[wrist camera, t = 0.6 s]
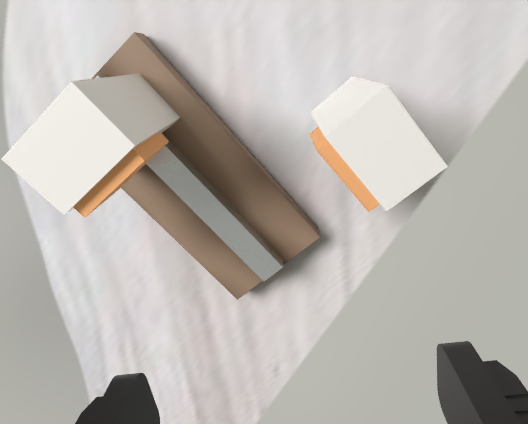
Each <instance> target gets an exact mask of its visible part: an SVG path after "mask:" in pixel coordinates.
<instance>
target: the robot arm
mask: <svg viewBox="0 0 528 424" xmlns="http://www.w3.org/2000/svg"><path fill="white" fill-rule="evenodd" d="M437 383H438V384H437V385H438V396H439V400H440V404H441V408H442V411H443V413H444V416H445V418H446V421H447V423H448V424H528V391H527V390H526V388H525V387H524V386H523V384H522V383H521V381H520V380H519V378H518V377H517V376H516V375H515V374H514V373H513V372H511V371H510V370H509V369H507V368H506V367H505V366H503V365H502V364H501V363H499V362H498V361H497V360H495V361H485V362H483V361H482V360H481V358H480V357H479V355H478V353H477V352H476V350H475V349H474V347H473V346H472V344H471V343H470V342H468V341H465V342H455V343H445V344H438V346H437ZM75 424H160V416H159V411H158V408H157V406H156V403H155V400H154V397H153V395H152V392H151V389H150V386H149V383H148V381H147V378H146V376H145V375H144V374H143V373H136V374H126V375H117V376H115V377H114V378H113V379H112V381H111V382H110V384H109V386H108V388H107V390H106V392H105V394H104V396H103V397H96V398H95V399H94V400H93V401H92V402H91V404H90V405H89V406H88V407H87V408H86V409H85V410H84V411H83V412H82V413H81V415H80V416H79V418H78V420H77V421H76V423H75Z"/></svg>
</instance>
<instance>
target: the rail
mask: <svg viewBox="0 0 528 424" xmlns="http://www.w3.org/2000/svg"><path fill="white" fill-rule="evenodd" d="M2 160H3V161H4V162H5V163H6V164H7V165H9V166H10V167H11V168H12V169H13V170H14V171H15V172H16V173H17V174H19V175H20V176H21V177H22V178H23V179H24V180H25V181H26V182H28V183H29V184H30V185H31V186H32V187H33V188H34V189H35V190H36V191H38V192H39V193H40V194H41V195H42V196H43V197H44V198H45V199H46V200H48V201H49V202H50V203H51V204H52V205H53V206H54V207H55V208H57V209H58V210H59V211H60V212H61V213H62V214H63V215H65V214H66V213H68V212H69V211H70V210H72V209H73V208H75V209H76V210H77V211H78V212H79V213H80V214H81V215H82V216H83V217H86V216H88V215H89V214H90V213H91V212H92V211H93V210H95V209H96V208H97V207H98V206H99V205H101V204H102V203H103V202H104V201H105V200H107V199H108V198H109V197H110V196H111V195H113V194H114V193H115V192H116V191H117V190H119V189H120V188H122V189H123V190H124V191H125V192H126V193H127V194H128V195H129V196H130V197H131V198H132V199H133V200H134V201H136V202H137V203H138V204H139V205H140V206H141V207H142V208H143V209H144V210H145V211H146V212H147V213H148V214H149V215H150V216H151V217H152V218H153V219H154V220H155V221H156V222H157V223H158V224H159V225H160V226H162V227H163V228H164V229H165V230H166V231H167V232H168V233H169V234H170V235H171V236H172V237H173V238H174V239H175V240H176V241H177V242H178V243H179V244H180V245H181V246H182V247H183V248H184V249H185V250H186V251H188V252H189V253H190V254H191V255H192V256H193V257H194V258H195V259H196V260H197V261H198V262H199V263H200V264H201V265H202V266H203V267H204V268H205V269H206V270H207V271H208V272H209V273H210V274H211V275H212V276H214V277H215V278H216V279H217V280H218V281H219V282H220V283H221V284H222V285H223V286H224V287H225V288H226V289H227V290H228V291H229V292H230V293H231V294H232V295H233V296H234V297H235V298H236V299H237V300H238V299H239V298H240V297H242V296H243V295H244V294H246V293H247V292H248V291H250V290H251V289H252V288H254V287H255V286H256V285H258V284H259V283H260V282H262V281H266V280H267V279H268V278H270V277H271V276H272V275H274V274H275V273H276V272H278V271H279V270H280V269H282V268H283V265H284V264H285V263H287V262H288V261H289V260H291V259H292V258H293V257H295V256H296V255H297V254H299V253H300V252H301V251H303V250H304V249H305V248H307V247H308V246H309V245H311V244H312V243H313V242H315V241H316V240H317V239H319V238H320V235H319V231H318V227H317V226H316V225H315V224H314V223H313V222H312V221H311V219H310V218H309V217H308V216H307V215H306V214H305V213H304V212H303V211H302V209H301V208H300V207H299V206H298V205H297V204H296V203H295V202H294V201H293V199H292V198H291V197H290V196H289V195H288V194H287V193H286V192H285V191H284V189H283V188H282V187H281V186H280V185H279V184H278V183H277V182H276V181H275V179H274V178H273V177H272V176H271V175H270V174H269V173H268V172H267V171H266V169H265V168H264V167H263V166H262V165H261V164H260V163H259V162H258V161H257V159H256V158H255V157H254V156H253V155H252V154H251V153H250V152H249V151H248V149H247V148H246V147H245V146H244V145H243V144H242V143H241V142H240V141H239V139H238V138H237V137H236V136H235V135H234V134H233V133H232V132H231V131H230V129H229V128H228V127H227V126H226V125H225V124H224V123H223V122H222V121H221V119H220V118H219V117H218V116H217V115H216V114H215V113H214V112H213V111H212V109H211V108H210V107H209V106H208V105H207V104H206V103H205V102H204V101H203V99H202V98H201V97H200V96H199V95H198V94H197V93H196V92H195V91H194V89H193V88H192V87H191V86H190V85H189V84H188V83H187V82H186V81H185V79H184V78H183V77H182V76H181V75H180V74H179V73H178V72H177V71H176V70H175V68H174V67H173V66H172V65H171V64H170V63H169V62H168V61H167V60H166V58H165V57H164V56H163V55H162V54H161V53H160V52H159V51H158V50H157V48H156V47H155V46H154V45H153V44H152V43H151V42H150V41H149V40H148V38H147V37H146V36H145V35H144V34H141V33H135V32H134V33H133V34H132V35H131V37H130V38H129V39H128V40H127V41H126V42H125V43H124V44H123V45H122V46H121V47H120V48H119V50H118V51H117V52H116V53H115V54H114V55H113V56H112V57H111V58H110V59H109V60H108V62H107V63H106V64H105V65H104V66H103V67H102V68H101V69H100V70H99V71H98V72H97V73H96V75H95V76H94V77H93V78H92V79H88V80H80V81H71V82H70V83H69V85H68V86H67V87H66V88H65V89H64V90H63V91H62V92H61V93H60V94H59V96H58V97H57V98H56V99H55V100H54V101H53V102H52V103H51V104H50V106H49V107H48V108H47V109H46V110H45V111H44V112H43V113H42V114H41V116H40V117H39V118H38V119H37V120H36V121H35V122H34V123H33V124H32V125H31V127H30V128H29V129H28V130H27V131H26V132H25V133H24V134H23V135H22V137H21V138H20V139H19V140H18V141H17V142H16V143H15V144H14V145H13V147H12V148H11V149H10V150H9V151H8V152H7V153H6V154H5V155H4V156H3V158H2Z"/></svg>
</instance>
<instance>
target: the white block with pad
mask: <svg viewBox="0 0 528 424" xmlns="http://www.w3.org/2000/svg"><path fill="white" fill-rule="evenodd" d="M310 113H311V115H312V117H313V118H314V120H315V122H316V123H317V125H318V128H316V129H315V130H314V131H313V132H312V133H310V136H311V138H312V141H313V143H314V145H315V148H316V150H317V151H318V153H319V154H320V155H321V156H322V157H323V159H324V160H325V161H326V162H327V163H328V164H329V166H330V167H331V168H332V169H333V170H334V172H335V173H336V174H337V175H338V176H339V177H340V179H341V180H342V181H343V182H344V183H345V185H346V186H347V187H348V188H349V189H350V191H351V192H352V193H353V194H354V195H355V196H356V198H357V199H358V200H359V201H360V202H361V204H362V205H363V206H364V207H365V208H366V210H367V211H368V212H370V211H371V210H372V209H374V208H375V207H376V206H378V205H379V204H380V205H381V206H382V207H383V208H384V209H385V211H386V212H387V211H388V210H389V209H391V208H392V207H394V206H395V205H396V204H398V203H399V202H400V201H402V200H403V199H404V198H406V197H407V196H409V195H410V194H411V193H413V192H414V191H415V190H417V189H418V188H419V187H421V186H422V185H423V184H425V183H426V182H428V181H429V180H430V179H432V178H433V177H434V176H436V175H437V174H438V173H440V172H441V171H442V170H444V169H445V168H447V167H448V166H447V165H446V163H445V162H444V161H443V159H442V158H441V157H440V155H439V154H438V153H437V151H436V150H435V149H434V147H433V146H432V145H431V143H430V142H429V141H428V139H427V138H426V137H425V135H424V134H423V132H422V131H421V130H420V128H419V127H418V126H417V124H416V123H415V122H414V120H413V119H412V118H411V116H410V115H409V114H408V112H407V111H406V110H405V108H404V107H403V106H402V104H401V103H400V102H399V100H398V99H397V97H396V96H395V95H394V93H393V92H392V91H391V89H390V88H389V87H388V85H385V84H381V83H377V82H374V81H370V80H366V79H362V78H358V77H354V76H352V77H351V78H350V79H348V80H347V81H346V82H345V83H344V84H343V85H342V86H340V87H339V88H338V89H337V90H336V91H335V92H333V93H332V94H331V95H330V96H329V97H328V98H326V99H325V100H324V101H323V102H322V103H321V104H320V105H318V106H317V107H316V108H315V109H314V110H313V111H311V112H310Z"/></svg>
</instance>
